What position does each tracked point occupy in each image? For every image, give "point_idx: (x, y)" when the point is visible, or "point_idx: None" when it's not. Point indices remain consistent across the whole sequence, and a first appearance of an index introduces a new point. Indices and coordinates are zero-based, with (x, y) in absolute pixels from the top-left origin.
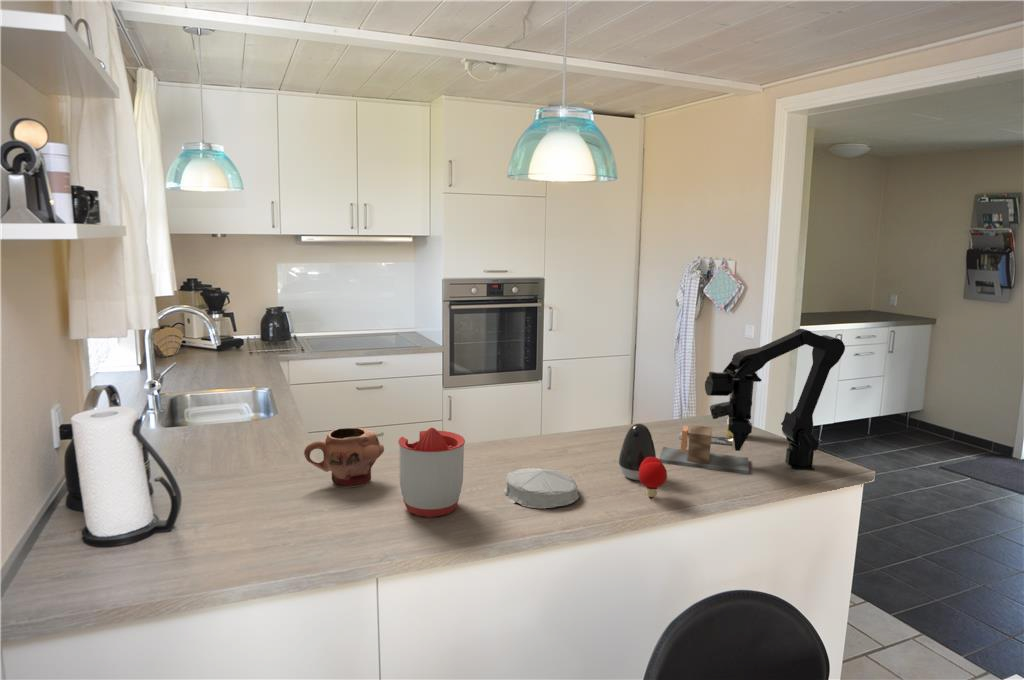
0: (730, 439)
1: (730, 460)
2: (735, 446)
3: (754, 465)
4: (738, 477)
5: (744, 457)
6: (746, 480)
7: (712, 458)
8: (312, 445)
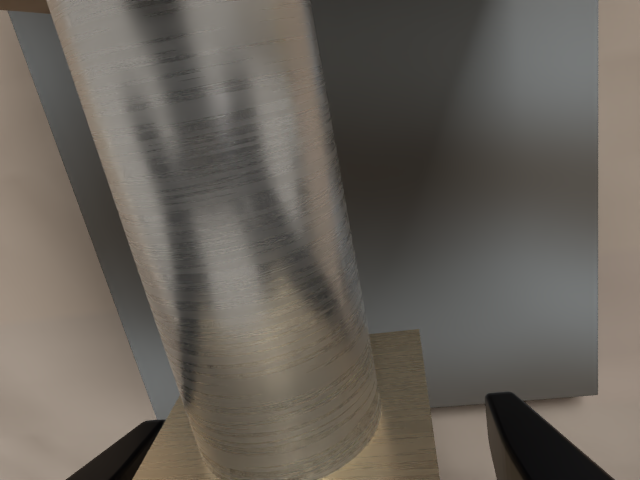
0: (206, 436)
1: (378, 238)
2: (86, 473)
3: (461, 431)
4: (35, 341)
5: (586, 361)
6: (17, 401)
7: (329, 7)
8: None
